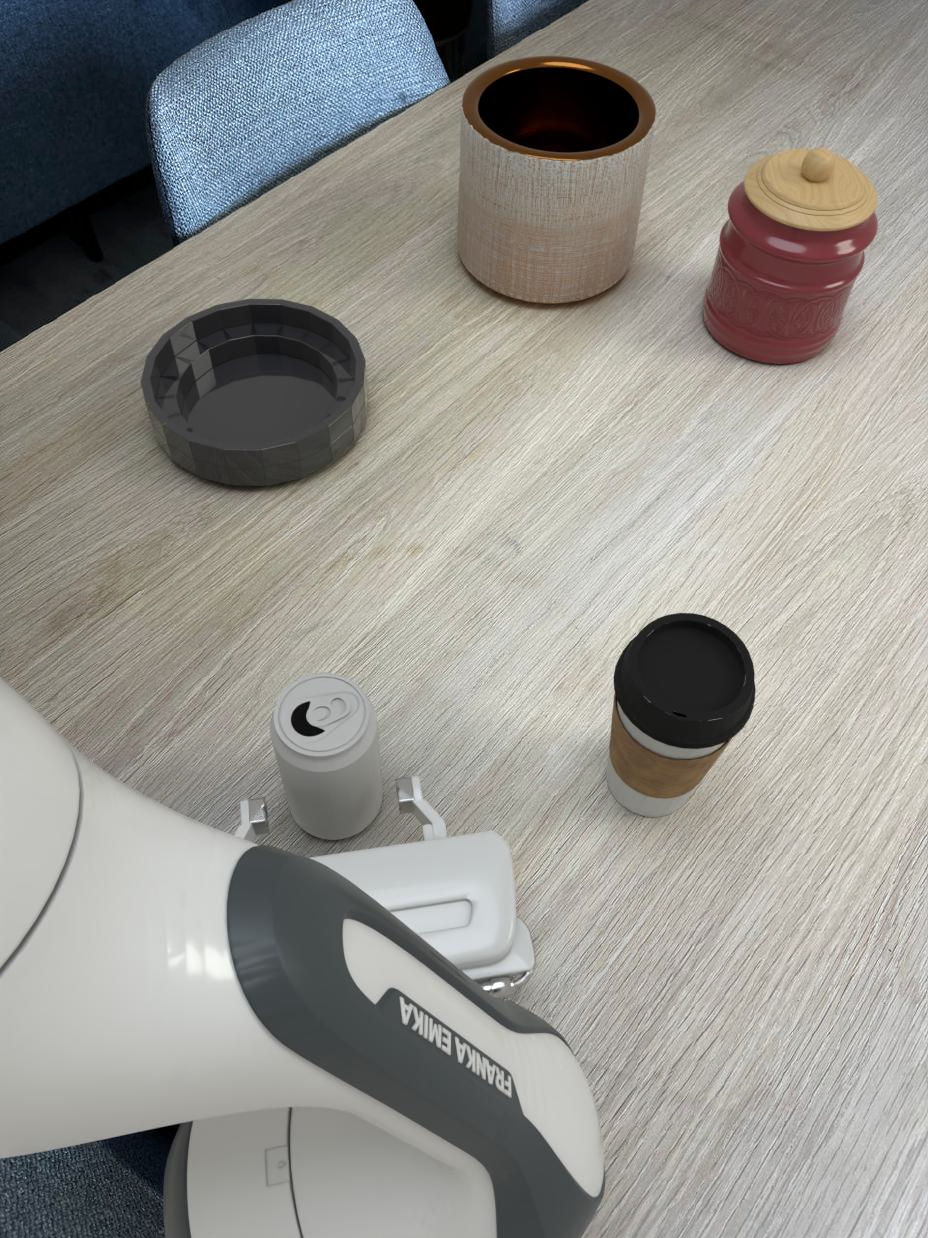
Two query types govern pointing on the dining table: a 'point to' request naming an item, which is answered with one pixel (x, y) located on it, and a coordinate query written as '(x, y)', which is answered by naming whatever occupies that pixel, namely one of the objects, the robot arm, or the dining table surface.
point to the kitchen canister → (789, 255)
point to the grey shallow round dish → (256, 391)
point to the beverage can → (328, 755)
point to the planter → (552, 176)
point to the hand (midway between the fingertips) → (331, 791)
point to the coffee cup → (675, 709)
